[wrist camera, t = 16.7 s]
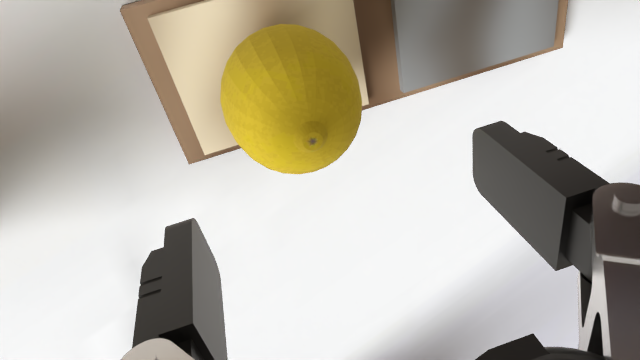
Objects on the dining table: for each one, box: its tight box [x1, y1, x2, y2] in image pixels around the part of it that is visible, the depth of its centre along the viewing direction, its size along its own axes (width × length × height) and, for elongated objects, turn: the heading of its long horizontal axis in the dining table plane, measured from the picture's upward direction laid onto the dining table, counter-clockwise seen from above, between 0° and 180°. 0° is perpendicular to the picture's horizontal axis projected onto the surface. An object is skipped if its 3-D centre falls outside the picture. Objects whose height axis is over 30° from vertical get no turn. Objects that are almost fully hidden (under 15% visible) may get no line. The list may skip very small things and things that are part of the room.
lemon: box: [220, 24, 362, 174], centre depth 18 cm, size 6×6×8 cm
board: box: [120, 0, 568, 164], centre depth 23 cm, size 22×8×2 cm, turn 102°
